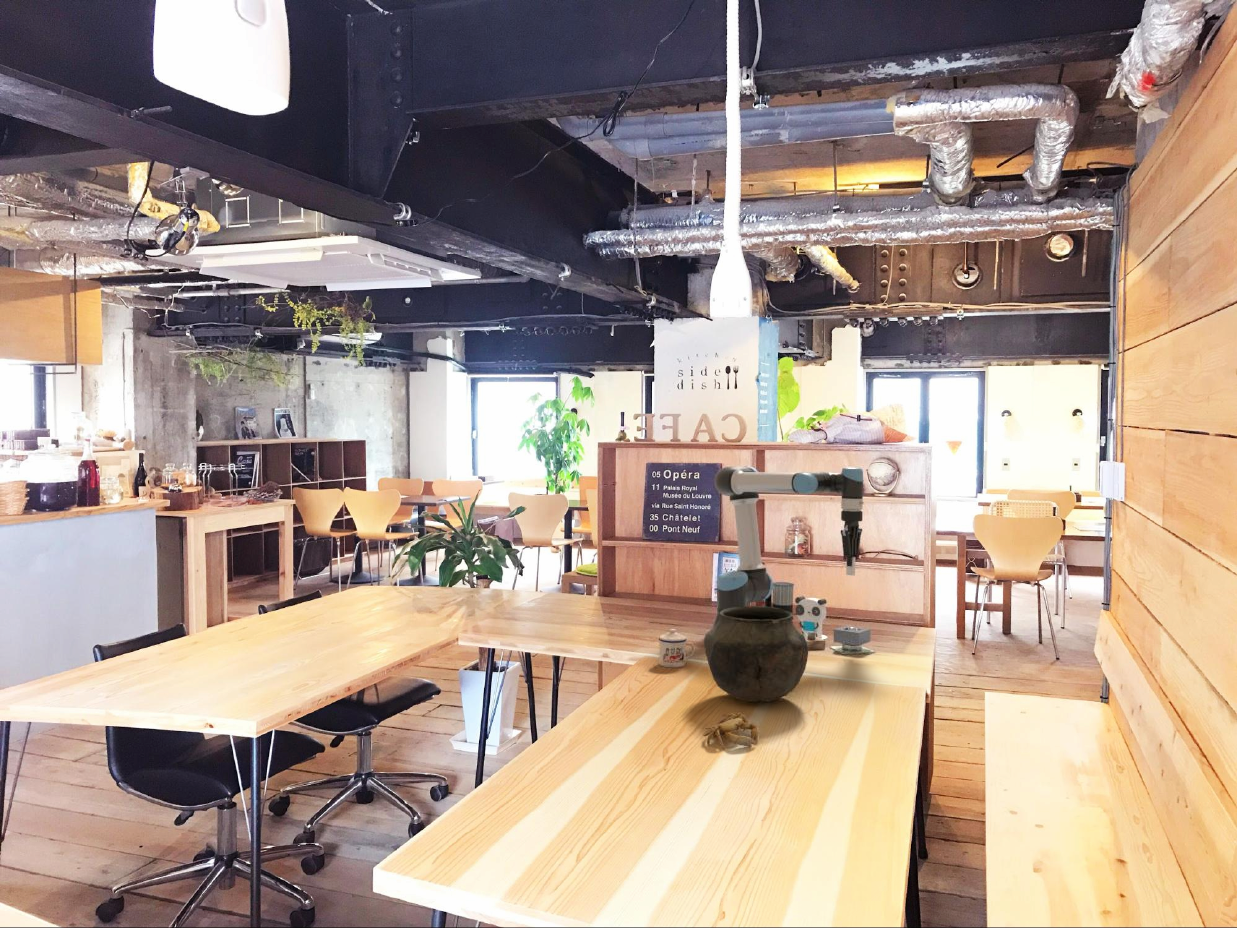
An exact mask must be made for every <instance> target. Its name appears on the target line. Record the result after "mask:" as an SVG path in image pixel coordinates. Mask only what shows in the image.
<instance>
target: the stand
mask: <svg viewBox="0 0 1237 928" xmlns="http://www.w3.org/2000/svg"><path fill="white" fill-rule="evenodd" d="M805 639H806V642H807V646H808V651H809V650H825V649H826V639H825V640H823V639H820V638H818V637H816V632H814V631H808V637H805Z"/></svg>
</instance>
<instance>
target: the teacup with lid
mask: <svg viewBox="0 0 1237 928" xmlns="http://www.w3.org/2000/svg"><path fill="white" fill-rule="evenodd" d="M658 641H659V648H658V649H659V652H658V655H659V656H658V657H659V659H658V661H659V662H658V663H659V665H660V666H662V667H664V668H674V669H675V668H682V667H685V665H686V658H687V659H688V658H691V657H692V656H693V655H694V654H695V651H696V646H695V644H694V643H693V642H691V641H690V642H689V641H687V637H686V636H684V635H682V634H680V633H679V632H677V629H675V628H670V629H669V631H668V632H666V633H665V634H661V635H660V636H659V637H658ZM687 645H690V646H691V647H692V650H691V652H690V653H689V654H686V647H687Z"/></svg>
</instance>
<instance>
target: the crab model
mask: <svg viewBox="0 0 1237 928" xmlns="http://www.w3.org/2000/svg"><path fill="white" fill-rule="evenodd" d="M725 716H726V718H724V719H722V720H720V721H719V722H718V723H717V724H716V725H712V726H705V727H704V728H705V730H708V731H706V732H705V733H703V734H702V736H703V737H707V736H708V737H707V740H706V742H707V744H706V745H708V746H710V744H711V739H712V738H713V737H717V740H718V741H717V742H718V743H719V744H720V745H721V747H722V748H723V750H726V746H725V745H724V743H723V740H722V738H721V737H723V736H724V737H725V738H727V739H728V740H729V741H730V742H732V743H734V744H735V745H737V746H743V747H748V748H749V747H752V746H753V745H756V744H757V742H758V740H759V738H760V737H759V736H760V729H759V726H758V725H757V724H756V723H753V722H749V720H748V718H747V716H746V715H745V714H741V712H737V713H730V712H729V713H728V712H727V713H724V714H721V715H720V717H725ZM739 730H742V732H743V733H744V732H746V730H751V731H750V737H749V736H745V735H737V734H734V733H732V732H735V731H736V732H737V731H739Z"/></svg>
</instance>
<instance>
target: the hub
mask: <svg viewBox="0 0 1237 928" xmlns="http://www.w3.org/2000/svg"><path fill="white" fill-rule="evenodd" d="M856 627H857V626H853V627H848V630H852V631H856ZM828 648H829V649H832V650H833V651H836V652H839V653H840V654H842V653H843V655H853V654H854V655H855V654H858V655H859V653H860V654H874V653H876V651H874V650H872V649H870V648H868V647H865V646H863V644H862V645H859V646H857V645H850V644H844V643H841V645H834V646H833V645H832V646H831V645H830V646H828Z"/></svg>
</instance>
